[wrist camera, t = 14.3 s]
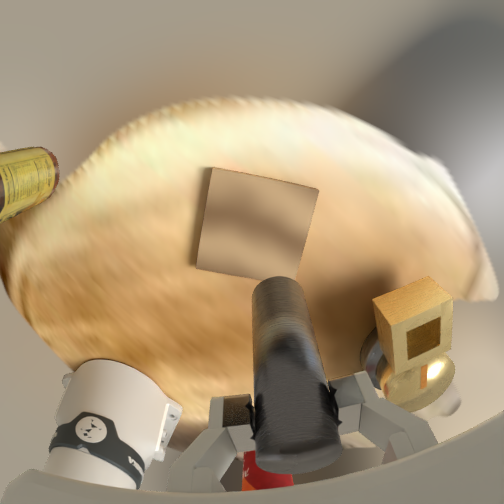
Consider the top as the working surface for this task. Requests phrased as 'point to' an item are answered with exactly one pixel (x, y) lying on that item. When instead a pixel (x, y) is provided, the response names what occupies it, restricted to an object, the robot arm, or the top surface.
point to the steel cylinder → (289, 384)
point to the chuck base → (371, 356)
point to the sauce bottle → (26, 179)
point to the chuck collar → (414, 343)
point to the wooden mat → (254, 225)
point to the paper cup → (261, 475)
